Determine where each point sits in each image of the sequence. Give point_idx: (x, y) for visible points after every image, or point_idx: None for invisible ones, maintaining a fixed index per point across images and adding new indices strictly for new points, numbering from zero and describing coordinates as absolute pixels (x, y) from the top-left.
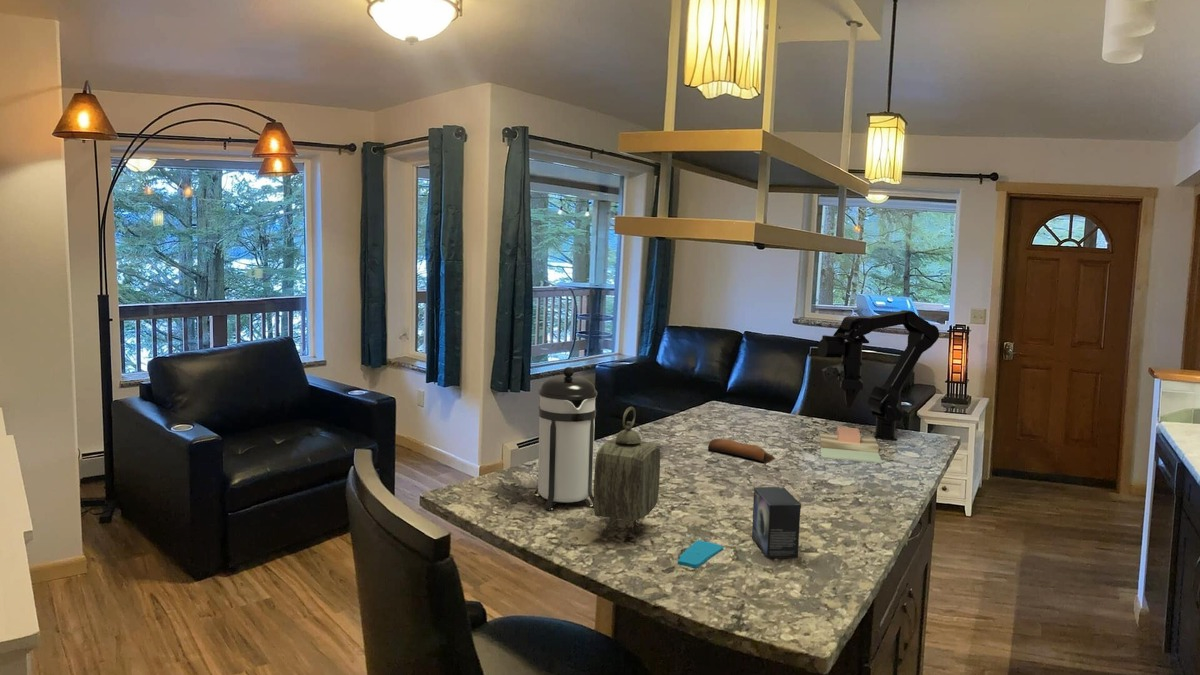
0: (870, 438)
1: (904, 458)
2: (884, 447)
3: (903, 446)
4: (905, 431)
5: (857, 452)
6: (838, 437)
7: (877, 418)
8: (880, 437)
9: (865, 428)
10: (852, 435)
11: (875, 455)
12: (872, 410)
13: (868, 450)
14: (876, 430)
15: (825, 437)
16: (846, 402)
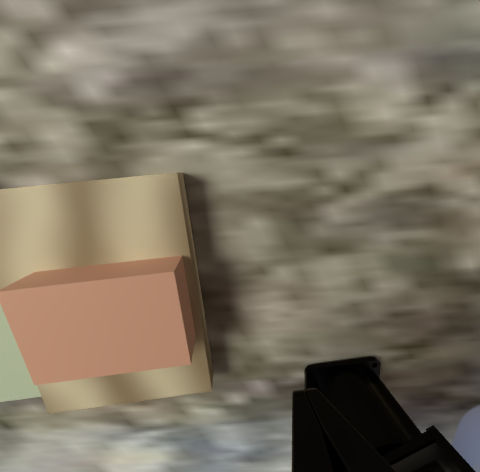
0: (190, 378)
1: (62, 451)
2: (184, 397)
3: (232, 439)
4: (452, 430)
5: (8, 335)
6: (36, 277)
7: (372, 444)
8: (306, 384)
9: (467, 326)
10: (24, 349)
11: (9, 389)
12: (423, 467)
13: None
14: (342, 388)
15: (84, 207)
16: (293, 441)
